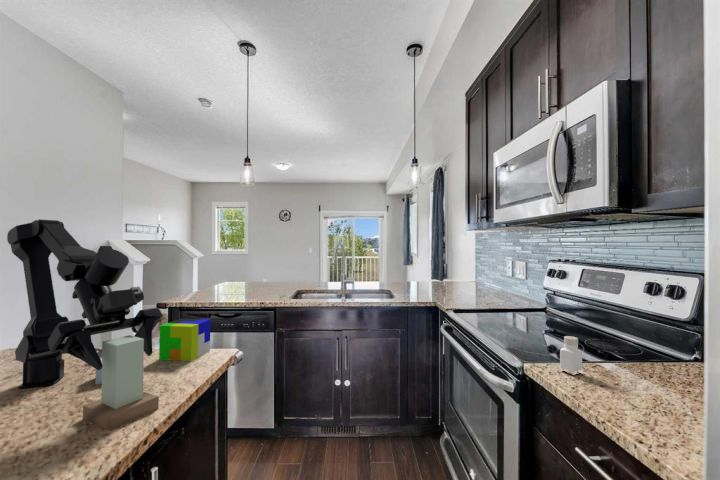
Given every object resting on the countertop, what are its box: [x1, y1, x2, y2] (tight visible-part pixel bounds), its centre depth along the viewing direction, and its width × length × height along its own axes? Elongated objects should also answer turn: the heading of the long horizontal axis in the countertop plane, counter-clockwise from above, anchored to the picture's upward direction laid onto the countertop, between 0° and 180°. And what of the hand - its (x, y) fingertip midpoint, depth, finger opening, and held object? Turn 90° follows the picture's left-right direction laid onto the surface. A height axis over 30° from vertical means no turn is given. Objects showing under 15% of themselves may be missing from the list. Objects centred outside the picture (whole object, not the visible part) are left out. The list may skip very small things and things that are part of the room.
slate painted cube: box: [95, 358, 102, 385], centre depth 84 cm, size 5×5×5 cm
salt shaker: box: [559, 335, 583, 372], centre depth 91 cm, size 4×4×10 cm
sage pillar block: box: [101, 334, 145, 409], centre depth 67 cm, size 5×5×12 cm
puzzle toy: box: [158, 318, 212, 362], centre depth 103 cm, size 10×10×10 cm
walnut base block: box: [82, 391, 160, 431], centre depth 67 cm, size 9×9×3 cm
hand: (127, 361), depth 66 cm, fingers open, 9 cm apart
